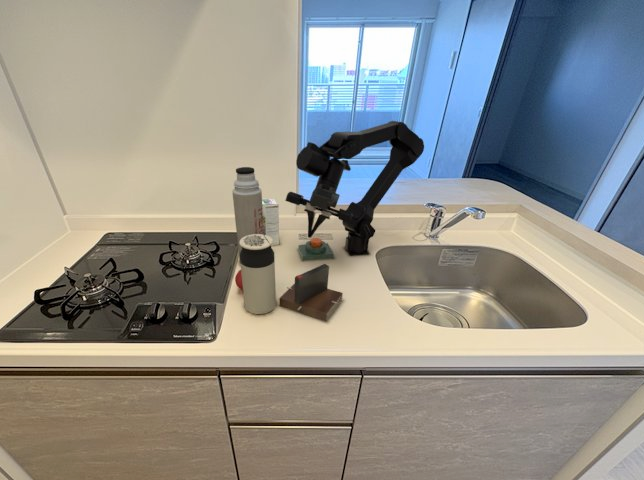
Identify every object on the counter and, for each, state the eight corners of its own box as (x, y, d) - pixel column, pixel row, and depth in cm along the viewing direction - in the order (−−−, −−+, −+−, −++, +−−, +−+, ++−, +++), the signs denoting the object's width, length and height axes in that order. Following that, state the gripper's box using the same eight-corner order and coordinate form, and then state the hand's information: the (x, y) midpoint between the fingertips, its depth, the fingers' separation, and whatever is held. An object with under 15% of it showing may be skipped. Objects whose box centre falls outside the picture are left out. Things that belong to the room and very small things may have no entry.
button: (320, 242, 106) (320, 237, 105) (322, 247, 103) (322, 242, 102) (309, 243, 105) (309, 238, 104) (311, 248, 102) (311, 243, 101)
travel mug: (246, 316, 79) (239, 250, 68) (243, 298, 85) (237, 234, 75) (278, 312, 80) (276, 246, 70) (273, 295, 86) (270, 232, 76)
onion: (245, 283, 91) (243, 258, 87) (262, 289, 89) (260, 263, 84) (232, 293, 87) (229, 267, 82) (249, 299, 85) (247, 273, 80)
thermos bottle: (270, 260, 102) (266, 167, 86) (253, 270, 97) (245, 173, 81) (251, 253, 106) (244, 163, 90) (234, 263, 101) (223, 169, 85)
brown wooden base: (347, 297, 85) (348, 289, 84) (324, 327, 75) (325, 318, 74) (299, 283, 91) (299, 275, 90) (273, 309, 81) (272, 301, 80)
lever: (323, 286, 85) (324, 262, 81) (327, 289, 84) (329, 265, 80) (294, 301, 80) (294, 276, 75) (298, 304, 79) (299, 278, 74)
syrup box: (259, 240, 115) (257, 199, 106) (275, 238, 116) (274, 197, 108) (263, 247, 110) (261, 205, 102) (280, 244, 112) (279, 203, 103)
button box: (327, 247, 110) (328, 238, 108) (333, 258, 103) (334, 248, 101) (298, 249, 109) (298, 239, 107) (302, 260, 102) (302, 250, 100)
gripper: (291, 166, 81) (273, 227, 85) (363, 190, 79) (340, 250, 84) (297, 172, 91) (280, 226, 96) (360, 194, 90) (340, 247, 94)
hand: (309, 237), depth 92 cm, fingers closed
